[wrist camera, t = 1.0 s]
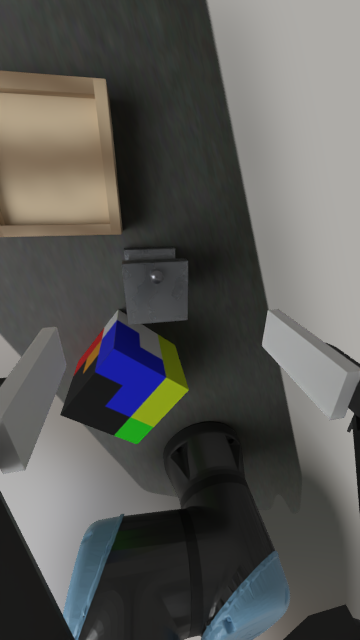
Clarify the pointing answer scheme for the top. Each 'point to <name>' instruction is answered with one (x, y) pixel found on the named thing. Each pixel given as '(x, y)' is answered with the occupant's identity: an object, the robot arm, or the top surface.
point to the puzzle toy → (125, 381)
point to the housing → (155, 285)
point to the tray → (56, 157)
